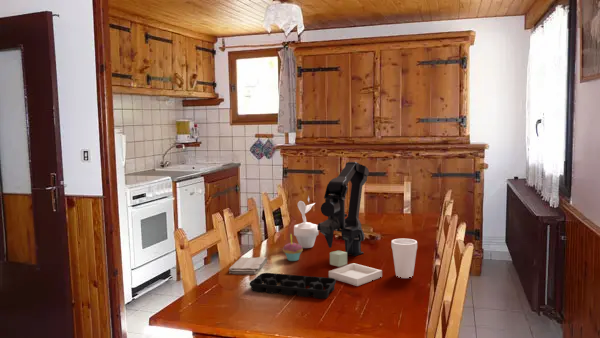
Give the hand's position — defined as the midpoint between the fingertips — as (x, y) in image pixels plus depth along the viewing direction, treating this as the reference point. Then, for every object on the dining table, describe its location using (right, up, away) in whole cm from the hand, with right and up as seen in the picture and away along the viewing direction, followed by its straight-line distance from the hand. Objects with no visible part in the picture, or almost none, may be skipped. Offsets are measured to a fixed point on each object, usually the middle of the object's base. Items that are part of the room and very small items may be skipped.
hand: (338, 249), depth 203 cm
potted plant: (-12, -4, +30) cm, 32 cm away
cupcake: (-19, -6, +9) cm, 21 cm away
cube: (0, -6, 0) cm, 6 cm away
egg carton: (-18, -10, -28) cm, 35 cm away
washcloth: (-36, -8, -1) cm, 37 cm away
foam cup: (+23, -7, -16) cm, 29 cm away
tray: (+5, -8, -17) cm, 19 cm away
